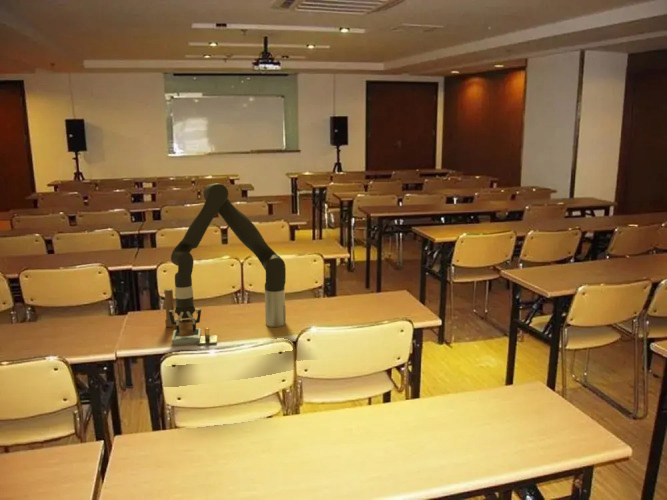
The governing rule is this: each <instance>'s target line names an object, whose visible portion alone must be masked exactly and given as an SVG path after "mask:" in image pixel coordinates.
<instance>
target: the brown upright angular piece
mask: <svg viewBox="0 0 667 500" xmlns="http://www.w3.org/2000/svg"><path fill="white" fill-rule="evenodd" d="M173 292H174V291H173V289H172V288H165V289H164V303H165V317H166V319H165V323H164V324H165V328H177V327H176V325H175V324H172V323H171V319H170V315H169V311H170V310H175V306H174V294H173ZM175 314H177V313H176V312H175ZM175 314H174V315H173V316H174V319H175V321H177V320H178V317H175ZM181 319H182V318H181ZM183 319H187V318H183Z"/></svg>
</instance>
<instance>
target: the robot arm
mask: <svg viewBox="0 0 667 500" xmlns="http://www.w3.org/2000/svg"><path fill="white" fill-rule="evenodd" d="M202 194H203V198H204V199H205V202H204V205H203V207H202V209H200V211H199V213H198V214H197V216H196V217H195V218H194V220H193V221H192V222H191V223H190V225H189V227H188V229H187V230H186V232H185V234H184V236H183V238H182V239H181V241H179V243H178V244H177V245H176V246H175V248H174V249H173V250H172V252H171V255H170V261H171V263H172V264H173V265H175V266H176V267H177V272H176V273H175V274H174V286H175V287H174V298H175V308H174V310H170V311H169V315H170V319H171V323H172V324H175V325H176V327H175V328H176V330H177V332H178V333H179V322H180V321H181V318H182V319H183V318H190V320H191V321H192V323H193V332H195V331H196V329H197V324H198V323H200V321H201V316H202V308H201V307H198V308H196V307H195V303H194V289H193V281H192V280H193V278H192V275H193V270H194V257H193V255H192V253H191V251H192V250H193V249H196V248H197V249H198V246H199V245H200V243H201V242H202V240H203V238H204V235H205V233H207V229H208V228H209V227H210V225H211V223H212V221H213V219H214V218H215V216H216V215H217V213H218V215H219V216H221V218H222V219H223V220H224V222H225V223H226V225H227V226H228V227H229V228H230V230H231V231H232V233H234V235H235V237H237V238H238V240H239V241H240V242H241V243H242V244H243V245H244V246H245V247H247V249H248V250H249V251H251V252H252V253H253V254H254V255H255V257H256V259H258V261H259V262H260V264H261V265H262V267H263V269H264V270H265V283H264V308H265V313H264V314H265V315H264V316H265V325H266V326H267V327H270V328H276V327H277V328H279V327H284V326H286V325H287V321H286V315H287V312H286V310H287V309H286V302H285V301H286V300H285V299H286V296H285V294H286V292H285V289H286V288H285V287H286V286H285V285H286V281H287V280H286V279H287V278H286V264H285V261H284V259H283V258H281V256H280V255H279V254H277V253H276V252H275V251H274V250H273V249H272V248H271V247H270V246H269V245H268V243H267V242H266V241H265V239H264V237H263V235H262V234H261V232H260V231H259V230H258V228H257V227H256V226H255V224H254V223H253V222H252V221H251V220H250V219H249V217H247V216H246V214H244V213H243V212H241V211H240V210H239V209H238V208H237V207H235V206H234V205H233V204H232V202H231V201H230V200H229V198H228V197H229V191H228V188H227V186H226V185H224V184H223V183H211V184H207V186H206V187H204V189H203V193H202ZM175 312H176V313H175ZM195 313H196V314H197V318H196V319H195V317H194V314H195ZM175 314H176V315H177V316H178V317H177V318H178V320H177V321H175V319H174V318H175ZM173 315H174V316H173Z"/></svg>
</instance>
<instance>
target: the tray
mask: <svg viewBox="0 0 667 500" xmlns="http://www.w3.org/2000/svg"><path fill="white" fill-rule="evenodd" d="M201 329H202V328H196V331H195V332H193V336H180V334H179V333H178V332H177V329H174V330H173V333H172V337H171V346H183V345H184V346H185V345H186V346H187V345H198V341H200V336H202V331H201Z"/></svg>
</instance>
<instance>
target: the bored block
mask: <svg viewBox="0 0 667 500" xmlns="http://www.w3.org/2000/svg"><path fill="white" fill-rule="evenodd" d="M179 334H180V336H193V323H192V321H191V320H190V318H187V319H181V321H180V322H179Z"/></svg>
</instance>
